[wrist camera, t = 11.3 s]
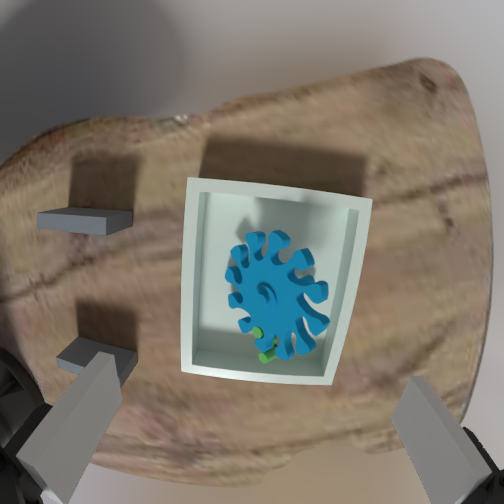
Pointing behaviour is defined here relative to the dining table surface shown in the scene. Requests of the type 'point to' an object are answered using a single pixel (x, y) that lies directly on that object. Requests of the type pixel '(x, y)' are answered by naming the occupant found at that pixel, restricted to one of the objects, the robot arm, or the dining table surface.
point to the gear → (276, 296)
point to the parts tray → (265, 220)
